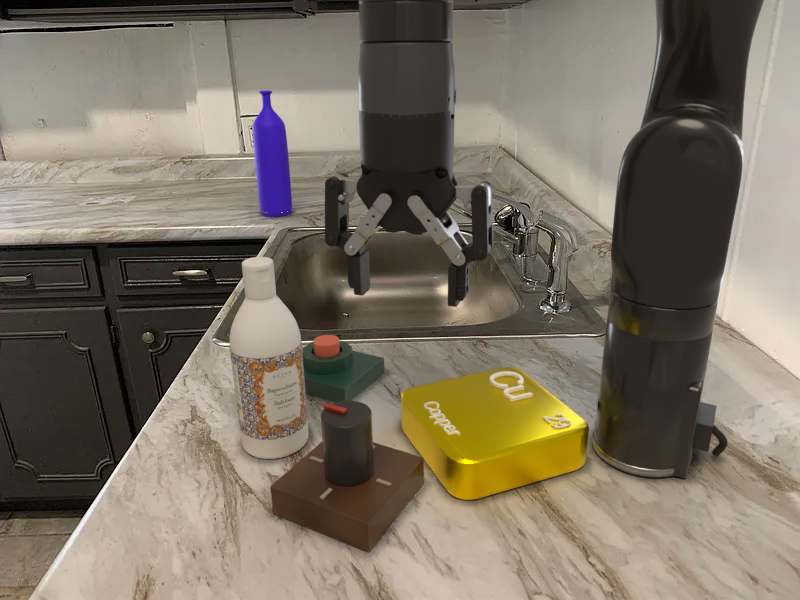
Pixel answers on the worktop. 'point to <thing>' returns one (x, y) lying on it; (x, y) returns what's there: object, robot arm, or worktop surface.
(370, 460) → the dial
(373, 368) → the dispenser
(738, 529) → the worktop surface
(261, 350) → the bath foam
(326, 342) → the red button cap
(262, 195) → the bottle
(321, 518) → the dial panel
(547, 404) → the element tile
